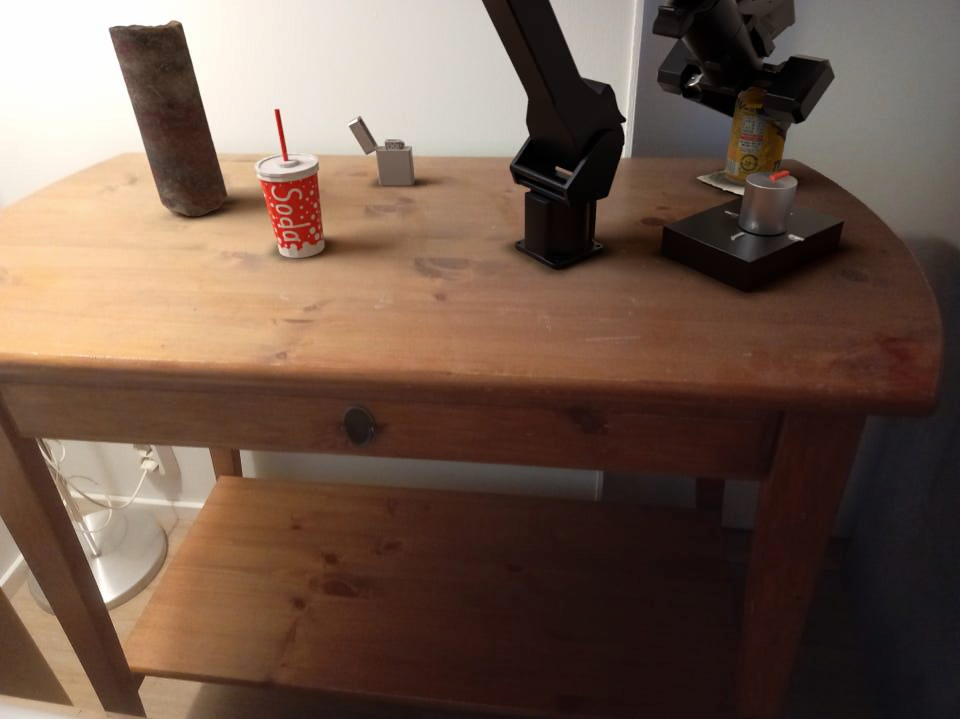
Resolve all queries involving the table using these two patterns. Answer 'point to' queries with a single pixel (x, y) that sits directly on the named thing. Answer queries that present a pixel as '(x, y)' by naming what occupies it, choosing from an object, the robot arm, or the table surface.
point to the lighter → (386, 155)
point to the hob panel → (748, 244)
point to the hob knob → (767, 202)
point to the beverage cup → (292, 199)
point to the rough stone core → (170, 116)
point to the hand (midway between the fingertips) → (763, 122)
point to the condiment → (749, 145)
